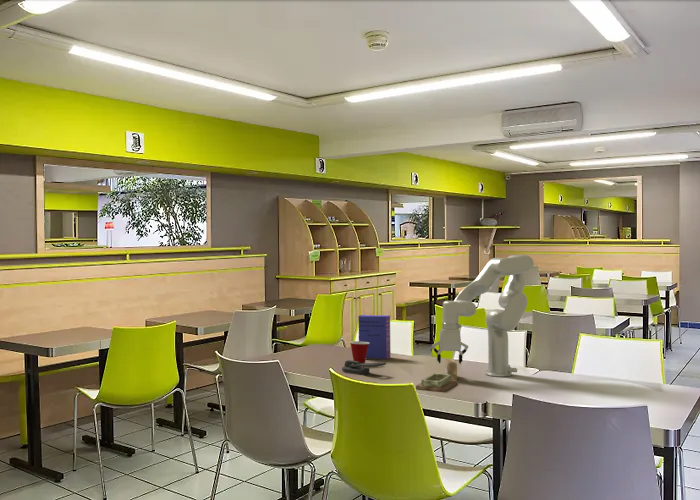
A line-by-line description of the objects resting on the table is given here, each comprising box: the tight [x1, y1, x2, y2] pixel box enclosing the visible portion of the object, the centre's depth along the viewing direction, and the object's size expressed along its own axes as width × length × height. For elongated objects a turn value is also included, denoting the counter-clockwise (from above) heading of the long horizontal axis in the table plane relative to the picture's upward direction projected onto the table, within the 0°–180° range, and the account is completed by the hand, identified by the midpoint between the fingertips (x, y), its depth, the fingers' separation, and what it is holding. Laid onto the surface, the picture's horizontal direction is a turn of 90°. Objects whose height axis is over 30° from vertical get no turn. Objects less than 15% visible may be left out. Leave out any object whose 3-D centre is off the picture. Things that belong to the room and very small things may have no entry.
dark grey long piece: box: [341, 359, 387, 376], centre depth 313 cm, size 9×7×25 cm
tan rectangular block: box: [445, 359, 458, 381], centre depth 299 cm, size 4×12×8 cm, turn 178°
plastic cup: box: [349, 340, 370, 363], centre depth 338 cm, size 11×11×12 cm
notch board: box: [415, 372, 458, 393], centre depth 283 cm, size 13×18×4 cm
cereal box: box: [358, 314, 392, 360], centre depth 355 cm, size 17×5×24 cm, turn 82°
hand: (449, 362), depth 299 cm, fingers open, 9 cm apart
